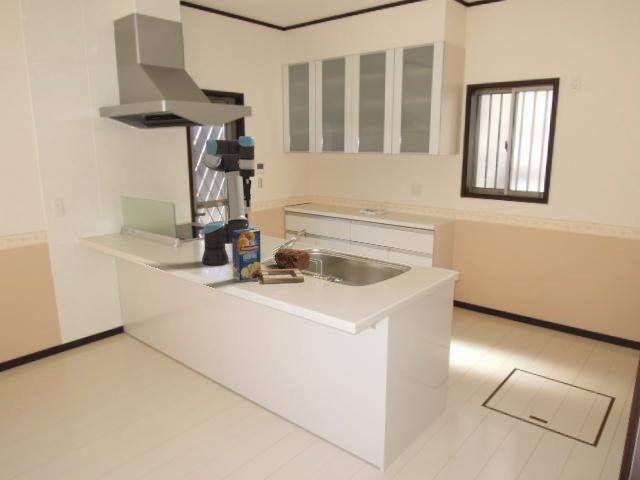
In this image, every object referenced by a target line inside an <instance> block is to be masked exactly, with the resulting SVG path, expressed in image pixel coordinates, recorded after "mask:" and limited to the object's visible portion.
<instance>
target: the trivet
mask: <svg viewBox="0 0 640 480" xmlns="http://www.w3.org/2000/svg"><path fill="white" fill-rule="evenodd" d="M234 279H235V283H248V282H249V281H253V282H259V277H258V278H253V279H247V280H242V281H240V280H238V279H236V278H234ZM249 283H250V282H249Z"/></svg>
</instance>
